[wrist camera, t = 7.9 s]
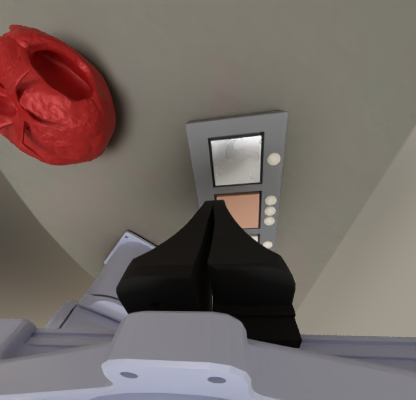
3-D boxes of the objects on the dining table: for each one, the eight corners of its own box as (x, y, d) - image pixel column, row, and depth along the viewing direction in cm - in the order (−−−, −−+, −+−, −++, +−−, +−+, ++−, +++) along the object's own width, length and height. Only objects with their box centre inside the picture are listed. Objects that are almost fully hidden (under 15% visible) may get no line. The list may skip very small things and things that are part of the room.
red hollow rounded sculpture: (122, 164, 21) (63, 207, 13) (35, 131, 20) (-92, 156, 12) (135, 70, 16) (53, 47, 8) (19, 16, 15) (-222, -76, 7)
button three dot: (255, 218, 22) (258, 227, 21) (220, 220, 23) (220, 229, 21) (256, 186, 20) (259, 194, 18) (217, 189, 21) (216, 197, 19)
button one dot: (256, 175, 19) (259, 182, 18) (216, 179, 20) (215, 185, 18) (257, 132, 17) (261, 135, 16) (211, 137, 18) (210, 141, 16)
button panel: (268, 255, 27) (272, 269, 24) (210, 256, 28) (209, 271, 25) (279, 110, 17) (289, 111, 14) (189, 121, 18) (184, 124, 15)
